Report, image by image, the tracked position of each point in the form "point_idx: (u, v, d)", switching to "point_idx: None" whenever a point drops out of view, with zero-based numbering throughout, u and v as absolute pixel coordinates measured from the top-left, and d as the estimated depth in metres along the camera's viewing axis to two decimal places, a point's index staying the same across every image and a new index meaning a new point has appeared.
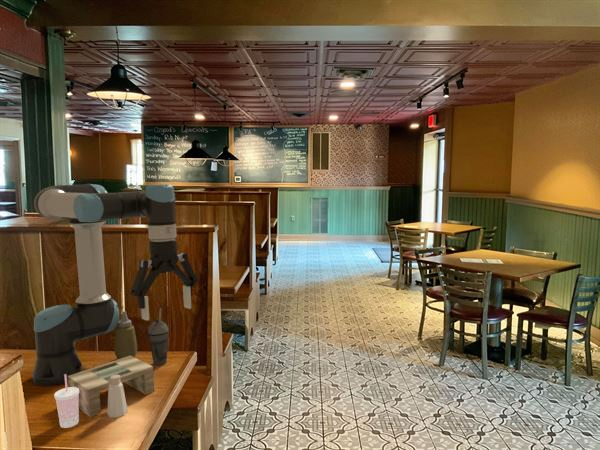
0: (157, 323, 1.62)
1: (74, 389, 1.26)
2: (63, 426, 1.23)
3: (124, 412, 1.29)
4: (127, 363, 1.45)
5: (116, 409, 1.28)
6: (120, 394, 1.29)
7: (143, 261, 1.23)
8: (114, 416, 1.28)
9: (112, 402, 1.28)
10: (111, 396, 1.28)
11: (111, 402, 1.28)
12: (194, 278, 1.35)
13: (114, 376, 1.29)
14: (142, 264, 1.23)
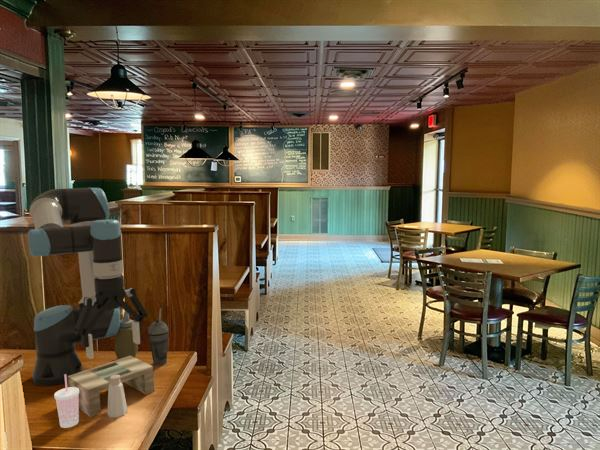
0: (157, 323, 1.62)
1: (74, 389, 1.26)
2: (63, 426, 1.23)
3: (124, 412, 1.29)
4: (127, 363, 1.45)
5: (116, 409, 1.28)
6: (120, 394, 1.29)
7: (87, 299, 1.21)
8: (114, 416, 1.28)
9: (112, 402, 1.28)
10: (111, 396, 1.28)
11: (111, 402, 1.28)
12: (143, 313, 1.33)
13: (114, 376, 1.29)
14: (86, 302, 1.21)
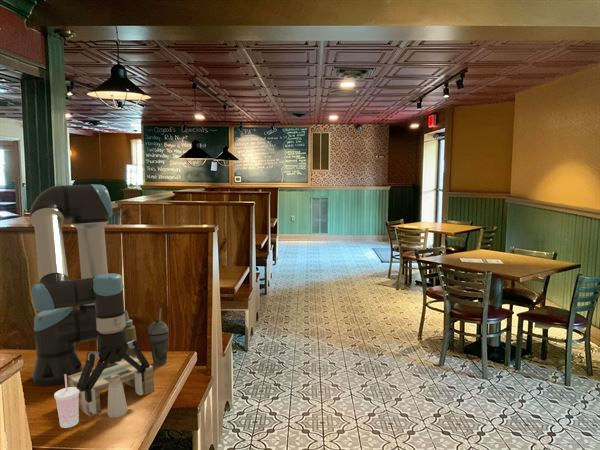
0: (157, 323, 1.62)
1: (74, 389, 1.26)
2: (63, 426, 1.23)
3: (124, 412, 1.29)
4: (127, 363, 1.45)
5: (116, 409, 1.28)
6: (120, 394, 1.28)
7: (89, 355, 1.23)
8: (114, 416, 1.28)
9: (112, 402, 1.28)
10: (111, 396, 1.28)
11: (111, 402, 1.28)
12: (145, 364, 1.35)
13: (114, 376, 1.29)
14: (88, 358, 1.23)
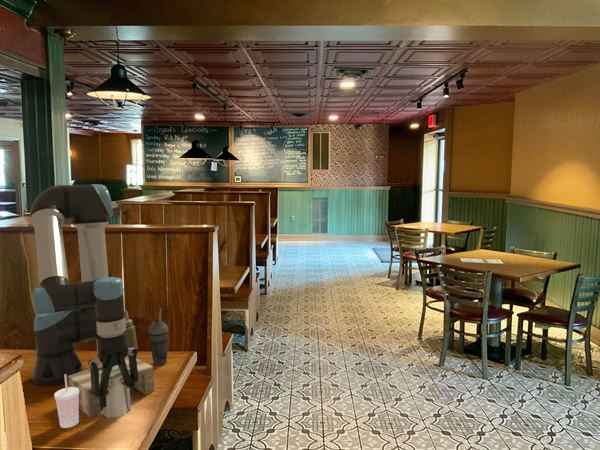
0: (157, 323, 1.62)
1: (74, 389, 1.26)
2: (63, 426, 1.23)
3: (124, 412, 1.29)
4: (127, 363, 1.45)
5: (116, 409, 1.28)
6: (120, 394, 1.29)
7: (90, 364, 1.23)
8: (114, 416, 1.28)
9: (112, 402, 1.28)
10: (111, 396, 1.28)
11: (111, 402, 1.28)
12: (135, 377, 1.33)
13: (114, 376, 1.29)
14: (91, 367, 1.24)
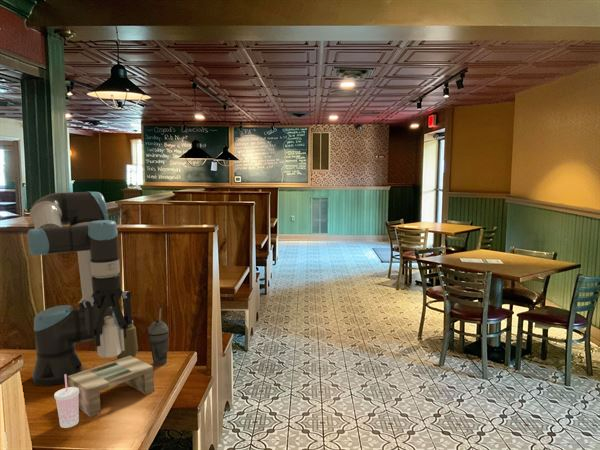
0: (157, 323, 1.62)
1: (74, 389, 1.26)
2: (63, 426, 1.23)
3: (118, 352, 1.32)
4: (127, 363, 1.45)
5: (110, 349, 1.31)
6: (114, 334, 1.31)
7: (85, 303, 1.26)
8: (108, 355, 1.31)
9: (106, 342, 1.31)
10: (105, 336, 1.31)
11: (105, 342, 1.31)
12: (129, 319, 1.35)
13: (108, 317, 1.32)
14: (85, 306, 1.26)
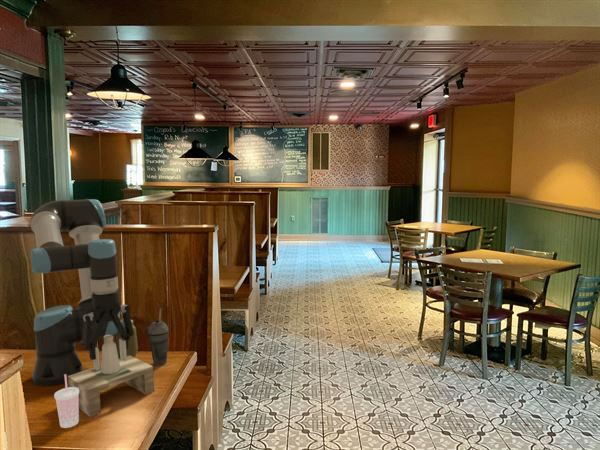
0: (157, 323, 1.62)
1: (74, 389, 1.26)
2: (63, 426, 1.23)
3: (117, 369, 1.39)
4: (127, 363, 1.45)
5: (109, 366, 1.37)
6: (113, 352, 1.38)
7: (85, 317, 1.32)
8: (108, 372, 1.37)
9: (106, 359, 1.37)
10: (105, 354, 1.37)
11: (105, 359, 1.37)
12: (130, 331, 1.43)
13: (107, 335, 1.39)
14: (84, 319, 1.33)
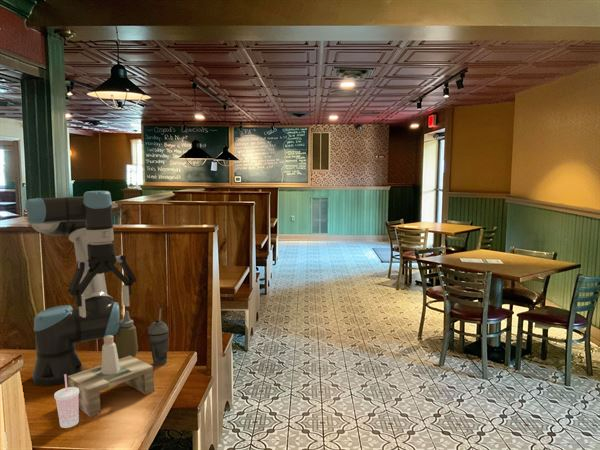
0: (157, 323, 1.62)
1: (74, 389, 1.26)
2: (63, 426, 1.23)
3: (117, 370, 1.39)
4: (127, 363, 1.45)
5: (109, 367, 1.37)
6: (113, 353, 1.38)
7: (80, 263, 1.33)
8: (108, 373, 1.37)
9: (106, 360, 1.37)
10: (105, 355, 1.37)
11: (105, 360, 1.37)
12: (132, 278, 1.45)
13: (107, 336, 1.38)
14: (79, 265, 1.33)
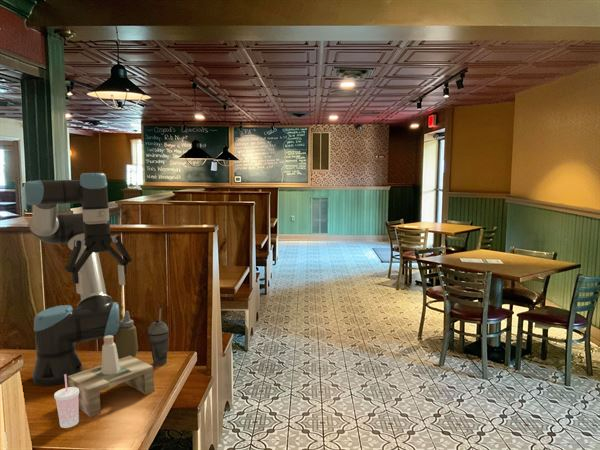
0: (157, 323, 1.62)
1: (74, 389, 1.26)
2: (63, 426, 1.23)
3: (117, 370, 1.39)
4: (127, 363, 1.45)
5: (109, 366, 1.37)
6: (113, 353, 1.38)
7: (76, 241, 1.38)
8: (108, 373, 1.37)
9: (106, 360, 1.37)
10: (105, 355, 1.37)
11: (105, 360, 1.37)
12: (128, 258, 1.50)
13: (107, 336, 1.38)
14: (76, 244, 1.38)
